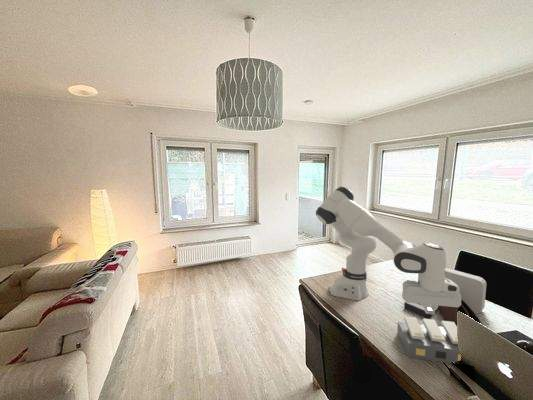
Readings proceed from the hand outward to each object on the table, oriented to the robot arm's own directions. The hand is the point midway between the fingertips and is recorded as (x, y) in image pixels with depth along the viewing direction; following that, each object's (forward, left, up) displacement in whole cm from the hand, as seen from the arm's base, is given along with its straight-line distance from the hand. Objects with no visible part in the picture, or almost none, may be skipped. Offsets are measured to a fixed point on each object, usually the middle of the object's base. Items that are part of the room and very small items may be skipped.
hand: (429, 313), depth 92 cm
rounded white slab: (+25, +37, -14) cm, 47 cm away
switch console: (0, -3, -14) cm, 14 cm away
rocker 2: (0, -3, -5) cm, 6 cm away
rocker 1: (-7, -3, -5) cm, 9 cm away
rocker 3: (+7, -3, -5) cm, 10 cm away
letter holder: (+20, +17, -14) cm, 30 cm away
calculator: (+8, +27, -15) cm, 31 cm away
